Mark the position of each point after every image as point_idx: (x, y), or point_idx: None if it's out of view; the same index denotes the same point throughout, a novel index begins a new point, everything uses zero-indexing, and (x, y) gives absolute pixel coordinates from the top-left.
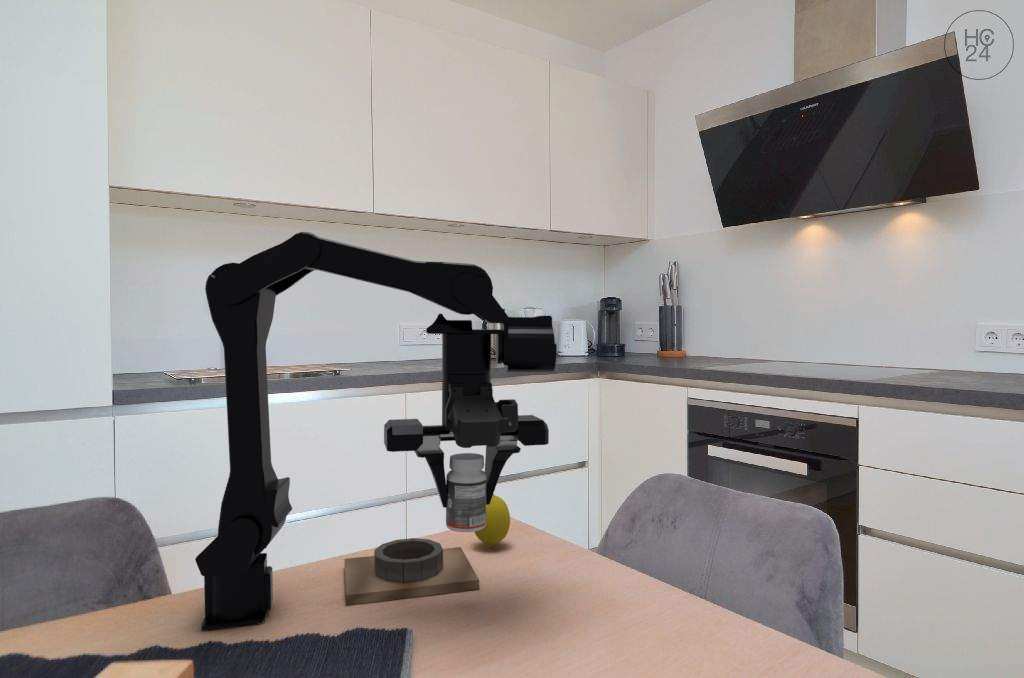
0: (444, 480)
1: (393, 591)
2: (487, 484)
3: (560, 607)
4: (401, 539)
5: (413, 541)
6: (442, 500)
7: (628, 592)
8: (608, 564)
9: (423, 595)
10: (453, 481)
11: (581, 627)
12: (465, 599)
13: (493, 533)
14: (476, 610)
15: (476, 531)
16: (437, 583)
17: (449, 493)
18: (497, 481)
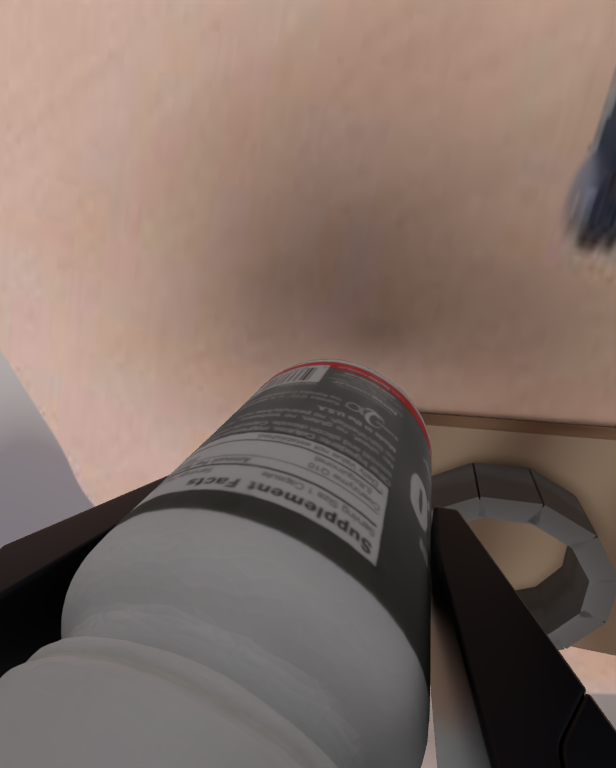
0: (483, 673)
1: (570, 435)
2: None
3: (169, 257)
4: None
5: None
6: (471, 536)
7: (31, 289)
8: (56, 426)
9: (476, 417)
10: (383, 615)
11: (138, 137)
12: (374, 365)
13: None
14: (361, 297)
15: None
16: (435, 432)
17: (420, 553)
18: (34, 533)
